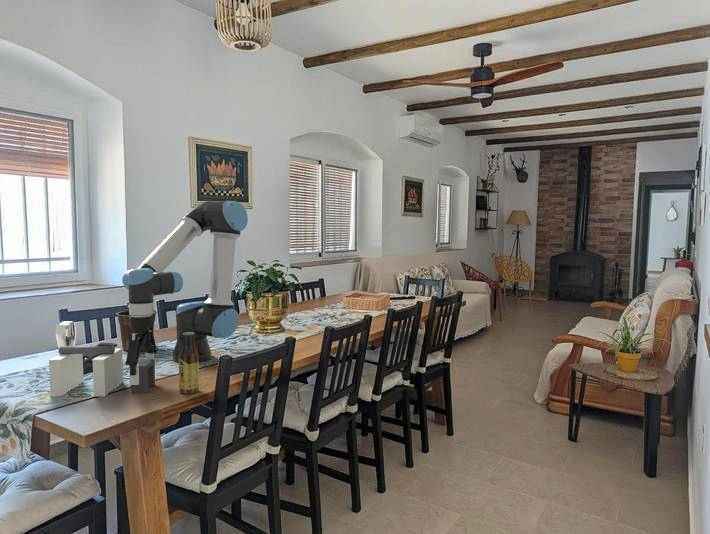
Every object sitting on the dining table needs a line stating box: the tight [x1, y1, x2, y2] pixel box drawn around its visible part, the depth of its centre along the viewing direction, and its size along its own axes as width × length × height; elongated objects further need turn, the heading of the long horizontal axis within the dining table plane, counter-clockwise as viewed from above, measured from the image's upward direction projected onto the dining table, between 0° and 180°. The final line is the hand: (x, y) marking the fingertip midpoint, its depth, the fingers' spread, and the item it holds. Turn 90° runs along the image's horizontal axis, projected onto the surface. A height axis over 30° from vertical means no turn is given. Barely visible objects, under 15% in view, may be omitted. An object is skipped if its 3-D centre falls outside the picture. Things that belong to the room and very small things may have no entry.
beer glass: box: [55, 320, 77, 348], centre depth 198 cm, size 7×7×15 cm
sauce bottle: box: [178, 332, 200, 395], centre depth 163 cm, size 7×6×20 cm
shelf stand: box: [48, 345, 124, 397], centre depth 165 cm, size 17×14×14 cm
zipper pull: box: [83, 342, 118, 375], centre depth 189 cm, size 9×7×25 cm
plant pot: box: [115, 309, 158, 352], centre depth 217 cm, size 16×16×16 cm
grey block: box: [130, 358, 156, 394], centre depth 166 cm, size 5×8×9 cm, turn 3°
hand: (142, 378), depth 165 cm, fingers open, 13 cm apart
